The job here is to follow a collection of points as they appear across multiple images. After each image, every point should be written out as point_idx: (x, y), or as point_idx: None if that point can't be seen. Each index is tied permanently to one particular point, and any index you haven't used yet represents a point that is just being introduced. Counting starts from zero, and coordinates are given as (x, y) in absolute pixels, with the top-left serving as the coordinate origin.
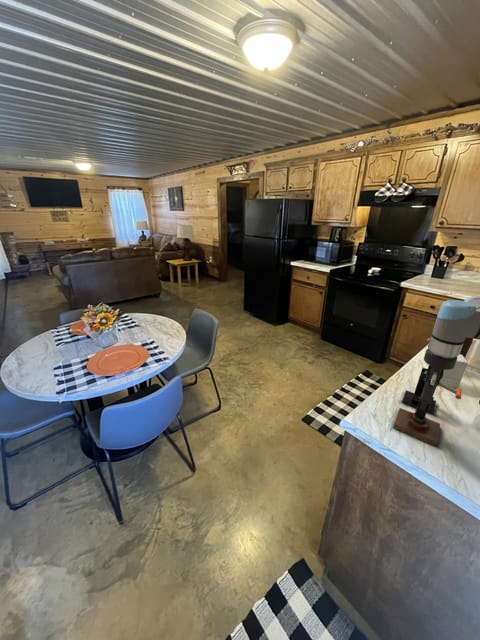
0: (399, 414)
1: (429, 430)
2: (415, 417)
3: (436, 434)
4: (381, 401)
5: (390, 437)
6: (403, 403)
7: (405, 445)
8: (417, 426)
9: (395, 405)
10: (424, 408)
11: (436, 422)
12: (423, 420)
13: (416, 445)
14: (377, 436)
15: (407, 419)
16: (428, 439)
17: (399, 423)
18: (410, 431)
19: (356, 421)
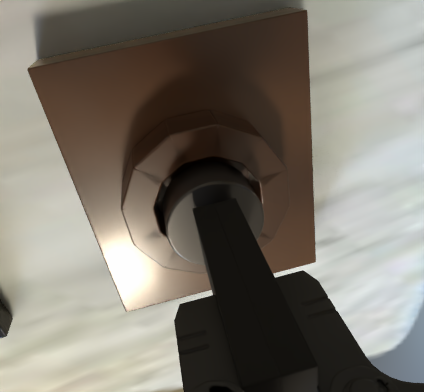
0: (200, 284)
1: (208, 102)
2: (256, 237)
3: (214, 47)
4: (121, 368)
5: (388, 216)
6: (7, 311)
7: (404, 145)
8: (286, 179)
9: (80, 322)
10: (324, 299)
11: (43, 97)
12: (246, 188)
13: (365, 104)
14: (418, 252)
15: None
16: (305, 72)
17: (290, 247)
18: (310, 179)
19: (375, 339)
